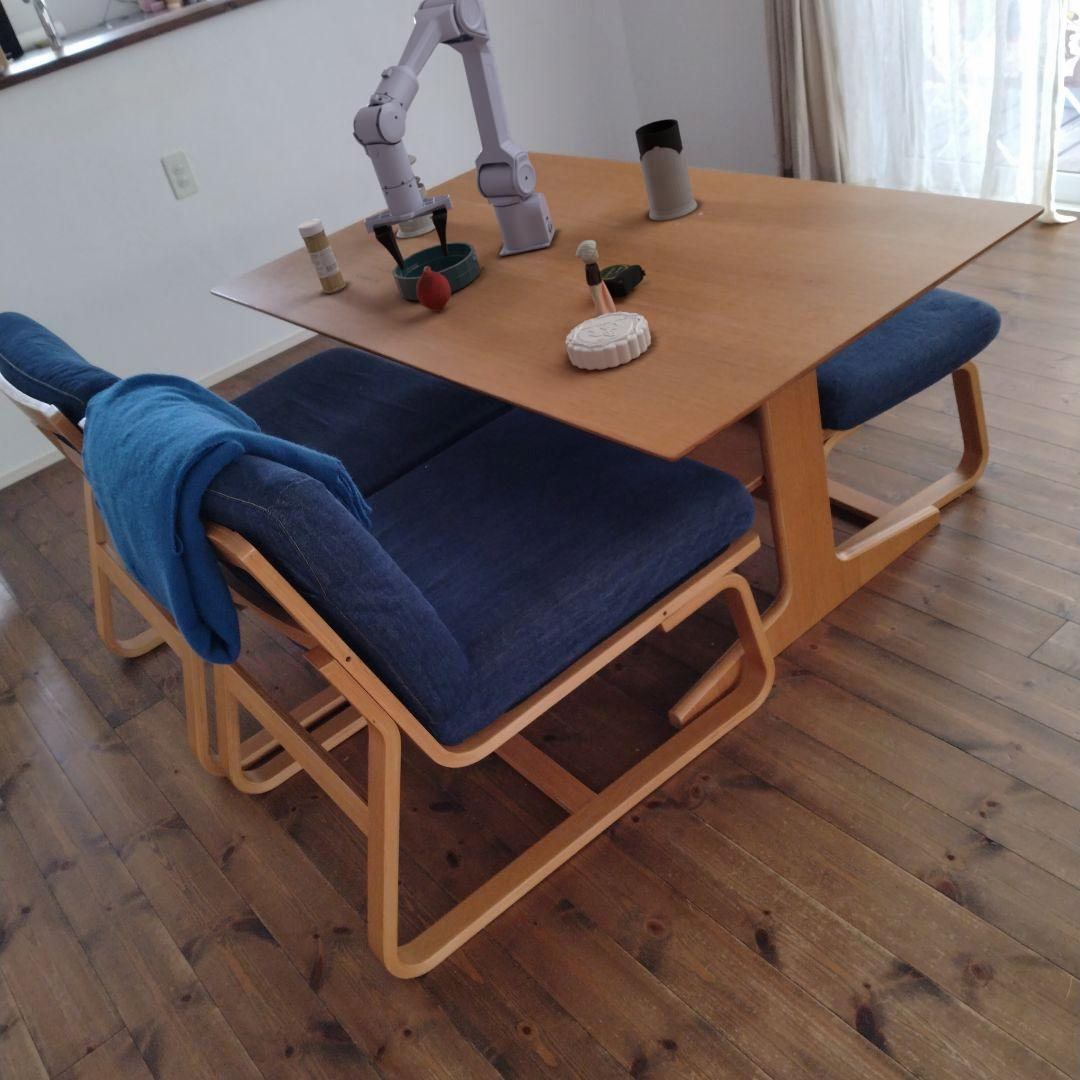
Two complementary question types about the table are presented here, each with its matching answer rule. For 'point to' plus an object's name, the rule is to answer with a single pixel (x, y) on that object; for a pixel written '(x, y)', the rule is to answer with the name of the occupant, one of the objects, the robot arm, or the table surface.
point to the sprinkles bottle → (321, 255)
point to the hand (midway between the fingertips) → (424, 261)
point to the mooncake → (608, 340)
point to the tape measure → (621, 279)
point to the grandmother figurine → (595, 278)
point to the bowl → (438, 267)
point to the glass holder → (665, 170)
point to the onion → (433, 290)
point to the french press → (417, 224)
